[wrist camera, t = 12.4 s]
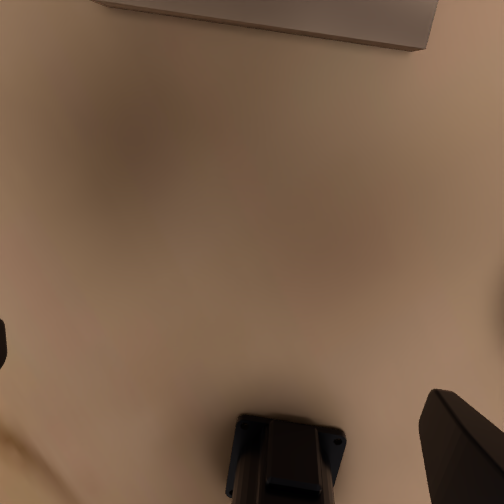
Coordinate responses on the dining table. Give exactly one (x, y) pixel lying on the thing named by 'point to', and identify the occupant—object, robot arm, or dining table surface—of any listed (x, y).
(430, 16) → the brown wooden tray
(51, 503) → the dining table surface
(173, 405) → the dining table surface
